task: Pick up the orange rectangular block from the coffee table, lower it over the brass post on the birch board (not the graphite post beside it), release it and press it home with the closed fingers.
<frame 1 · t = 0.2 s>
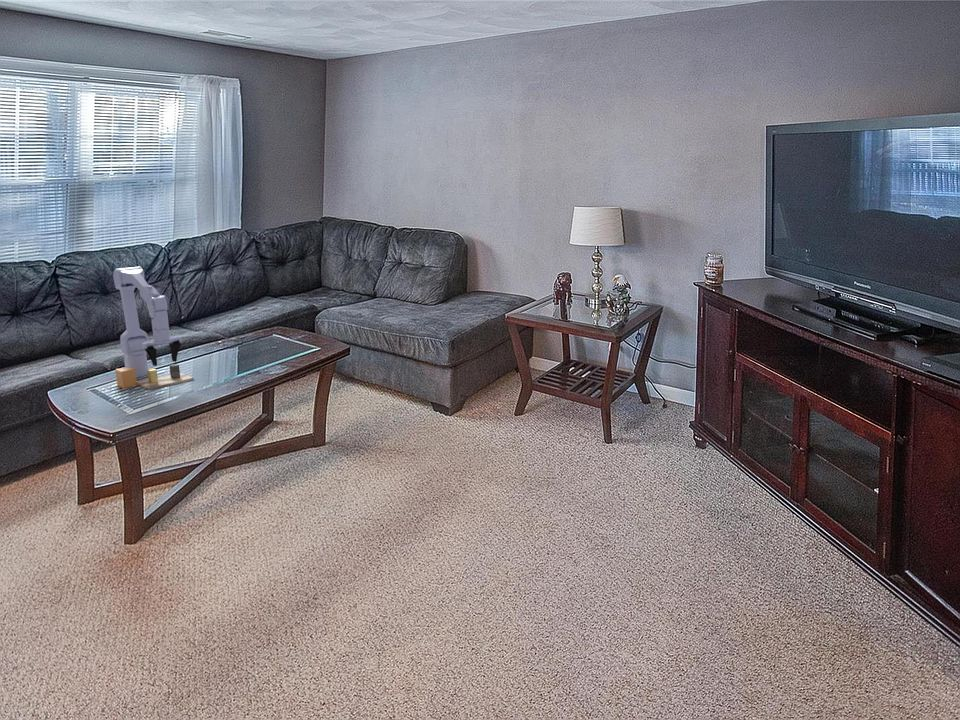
hand: (164, 363, 280), 10 cm above the table, tool pointing down, fingers open, 7 cm apart
brass post: (153, 384, 287), resting on post board
orange rectangular block: (127, 385, 285), on the table
post board: (164, 381, 290), on the table
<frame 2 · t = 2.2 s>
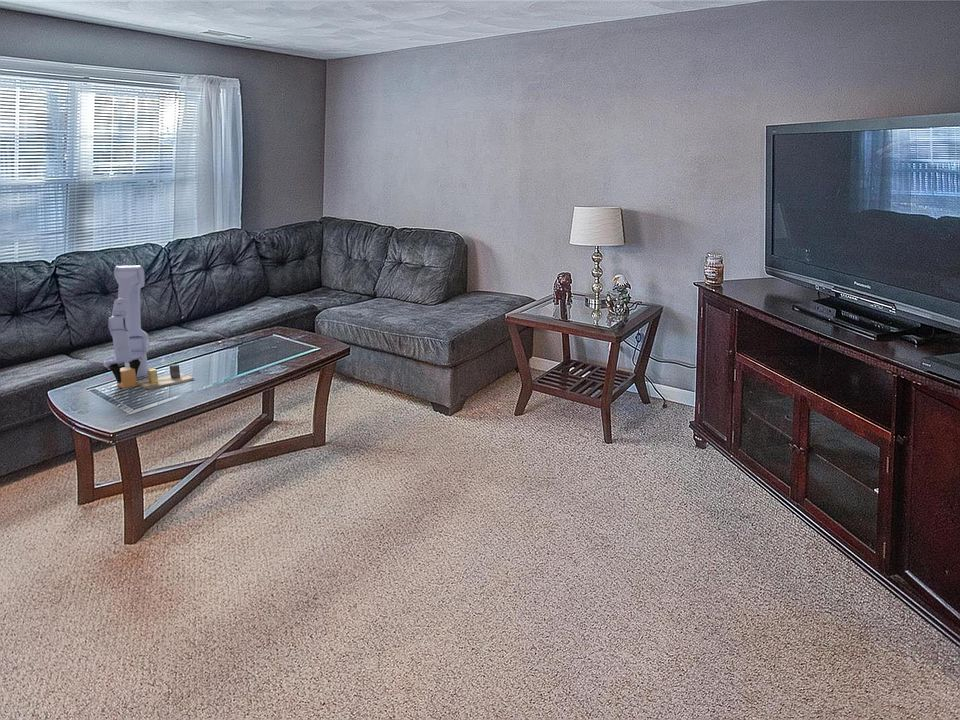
hand: (126, 380, 285), 2 cm above the table, tool pointing down, fingers closed on orange rectangular block, 5 cm apart
orange rectangular block: (127, 385, 285), on the table, touching gripper
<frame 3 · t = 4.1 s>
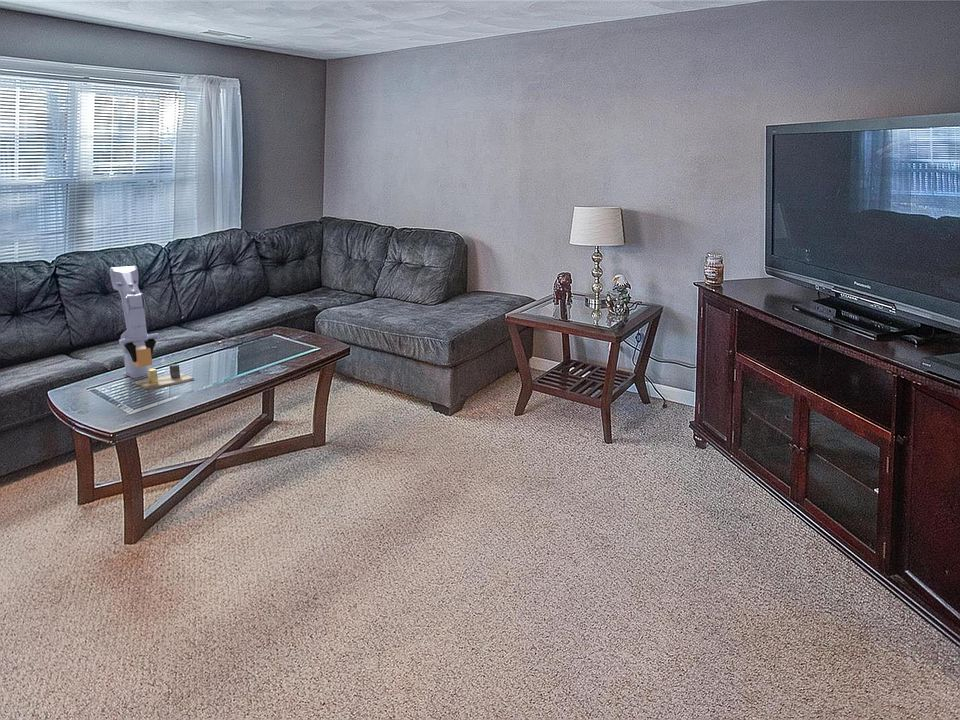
hand: (142, 360, 283), 10 cm above the table, tool pointing down, fingers closed on orange rectangular block, 5 cm apart
orange rectangular block: (142, 364, 284), point 8 cm above the table, touching gripper
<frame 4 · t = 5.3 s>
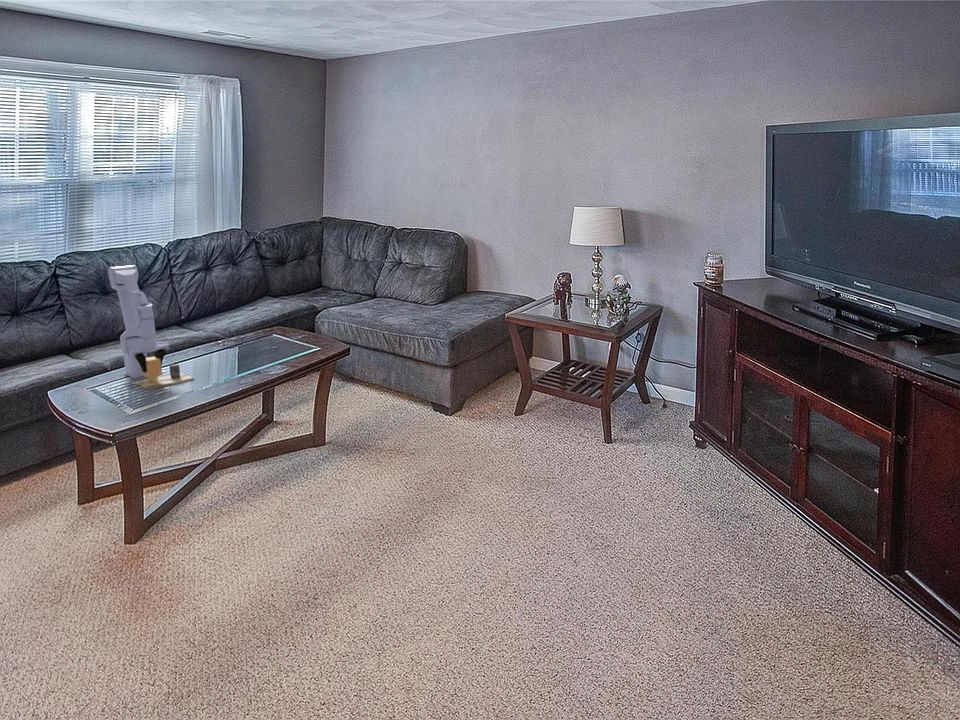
hand: (151, 370, 285), 6 cm above the table, tool pointing down, fingers closed on orange rectangular block, 5 cm apart
orange rectangular block: (152, 375, 286), point 4 cm above the table, touching gripper
when the fingers open (4 cm above the table, at t = 6.2 s): orange rectangular block drops 1 cm, resting on post board.
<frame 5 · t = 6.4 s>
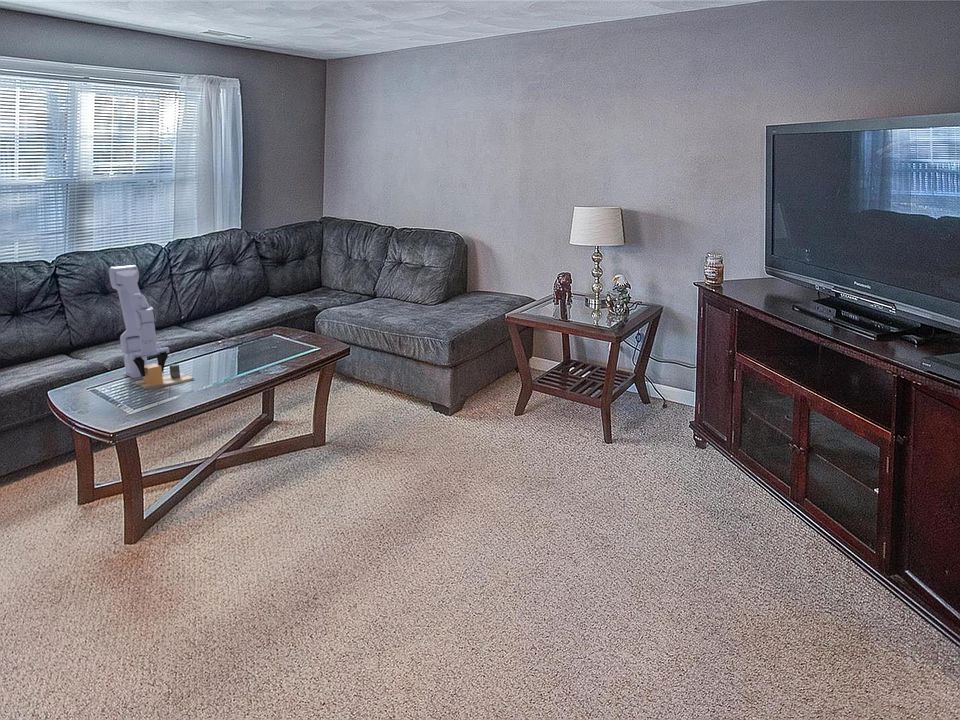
hand: (152, 373, 286), 4 cm above the table, tool pointing down, fingers open, 7 cm apart
orange rectangular block: (153, 382, 286), point 1 cm above the table, touching post board
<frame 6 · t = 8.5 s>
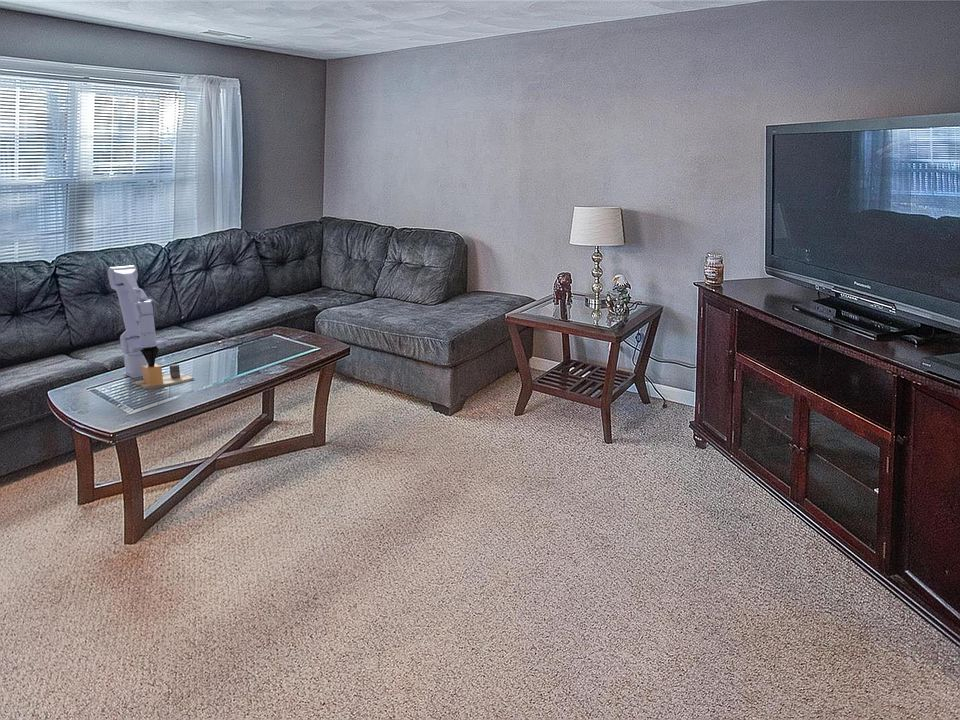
hand: (151, 366, 285), 7 cm above the table, tool pointing down, fingers closed, pressing on orange rectangular block
orange rectangular block: (153, 382, 286), point 1 cm above the table, touching gripper, post board
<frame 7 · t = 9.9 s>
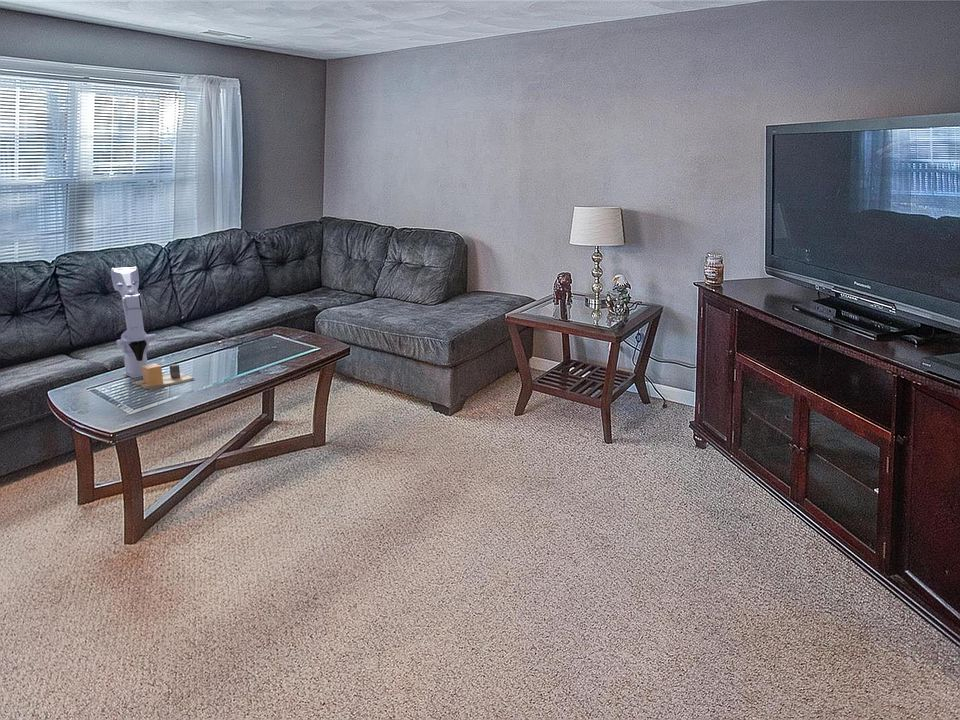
hand: (139, 360, 285), 9 cm above the table, tool pointing down, fingers closed
orange rectangular block: (153, 382, 286), point 1 cm above the table, touching post board
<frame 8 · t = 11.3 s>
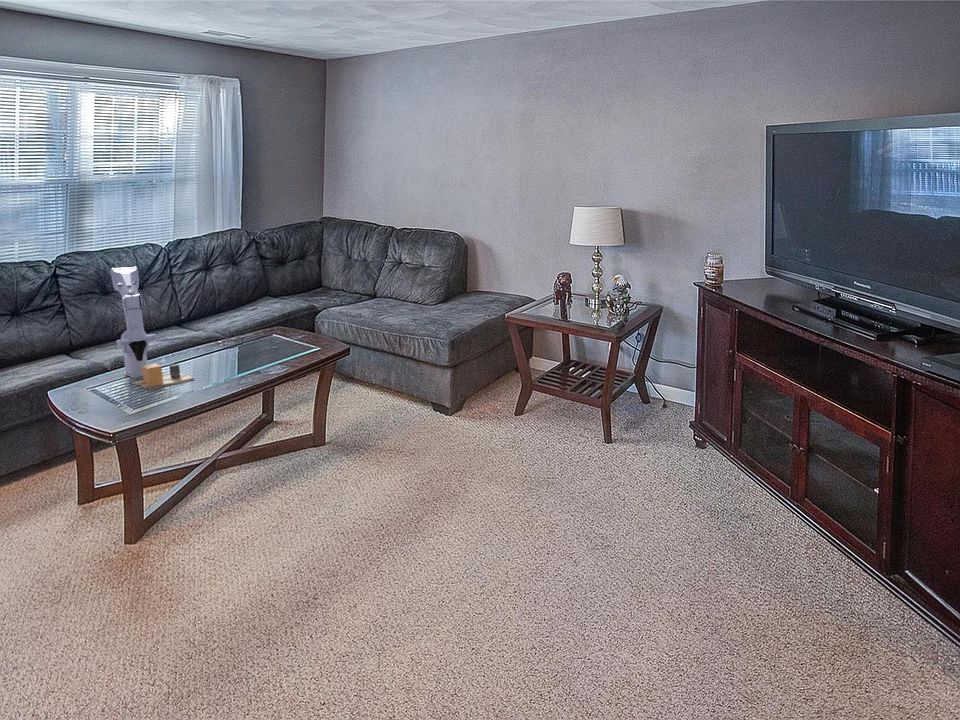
hand: (139, 360, 285), 9 cm above the table, tool pointing down, fingers closed
nothing on the table moved.
at the end: orange rectangular block 0.0 cm from the brass post (horizontally); orange rectangular block point 0.8 cm above the table; orange rectangular block tilted 0° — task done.
